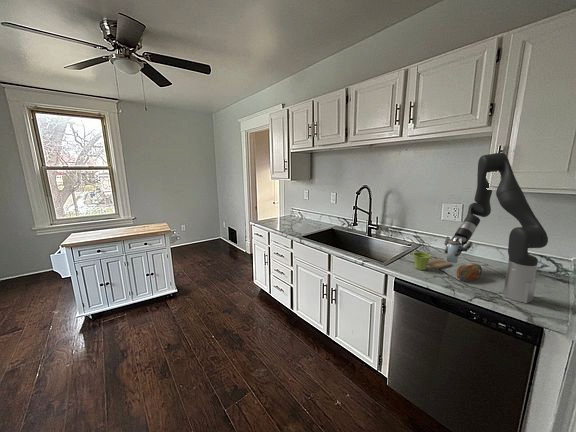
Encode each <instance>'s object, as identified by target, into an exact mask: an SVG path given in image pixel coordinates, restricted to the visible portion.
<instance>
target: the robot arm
mask: <svg viewBox="0 0 576 432" xmlns="http://www.w3.org/2000/svg"><path fill="white" fill-rule="evenodd" d="M492 172H499V174H500V181H499V183H498V186H497V188H496V192H495V196H496V198H497V201H498V203H499V205H500V206H501V208H502V209H503V210H505V211H506V213H508V214H510V215H511V216H513V218H515V219H516V220H517V221H518V222H519V224H520V225H521V226H520V227H519V226H517V227H514V228H513V229H512V230H510V233H509V236H508V247H507V249H508V250H507V254H508V260H507V268H506V274H505V280H504V281H505V282H504V286H503V287H504V288H503V294H502V295H503V296H504V297H505V298H507V299H510V300H512V301H515V302H520V303H524V304H528V303H531V302H533V300H534V295H535V291H536V284H537V280H535V278H536V274H537V269H538V262H539V259H538V258H537V257H536V256H534V255H532V254H529V252H528V251H529V250H528V249H542V248H545V247H546V246H547V245H548V243H549V238H548V234H547V231H546V230H545V228H544V227H543V226H542V224H541V222H540V221H539V219H538V218H537V217H536V215H535V214H534V212H533V209H532V208H531V206H530V204H529V203H528V200H527V199H526V195H525V194H524V192H523V190H522V188H521V187H520V185H519V182H518V181H517V178H516V177H515V175H514V171H513V168H512V166H511V163H510V160H509V157H508V156H507V154H506V153H504V152H495V153H490V154H483V155H481V156H480V157H479V158H478V162H477V180H476V182H477V183H476V184H477V185H476V191H475V196H474V202H472V203H470V204H469V206H468V210H467V215H466V217H465V218H464V220H462V223H461V224H460V225H459V227H458V228H457V230H456V231H455V233H454V235H453V236H451V237H450V236H448V235H447V236H446V238H445V241H444V246H445V248H444V250H443V251H444V253H445V254H447V252H448V240H456V241H459V242H460V244H459V249H458V250H457V251H456V253H455V256H458V257H459V256H460V255H461V254H462V252H468V250H469V249H471V247H472V246H473V245H474V244H473V242H472V241H469V240H471V238H472V237H473V235H474V233H475V232H476V229H477V227H478V226H479V224H480V222H481V218H480V217H482V218H486V217H488V216H489V215H491V212H492V207H491V197H492V194H493V189H492V190H487V189H486V188H489V184H490V182H489V181H488V179H487V174H488V173H492ZM488 182H489V183H488Z"/></svg>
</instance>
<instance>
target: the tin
mask: <svg viewBox="0 0 576 432" xmlns="http://www.w3.org/2000/svg"><path fill="white" fill-rule="evenodd" d="M482 271H483V269H482V265H480V264H479V263H474V262H472V263H467V264H461V265H460V266H459V267H458V268H457V269H456V278H457V279H458V280H460V281H463V282H468V281H473V280H478V279H479V278H480V277H481V275H482Z"/></svg>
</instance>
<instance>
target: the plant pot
mask: <svg viewBox="0 0 576 432" xmlns="http://www.w3.org/2000/svg"><path fill="white" fill-rule="evenodd" d="M412 255H413V260H414V268H415V269H417V270H420V271H425V270H427V268H428V266H429V265H428V261H429V260H430V259H431V257H432V256H431V255H430V254H429V253H426V252H421V251H420V252H419V251H415V252H413V253H412Z"/></svg>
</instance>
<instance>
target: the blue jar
mask: <svg viewBox="0 0 576 432" xmlns="http://www.w3.org/2000/svg"><path fill="white" fill-rule="evenodd" d="M459 244H460V242H459V241H456V240H448V252H447V253H446V262H449V263H452V264H457V263H458V262H459V261H458V259H459V256H455V253H456V251H457V250H458V249H459Z"/></svg>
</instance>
